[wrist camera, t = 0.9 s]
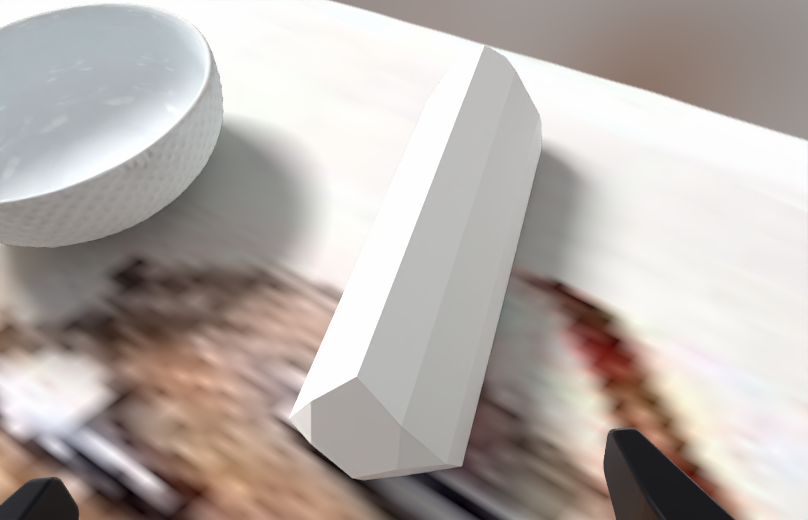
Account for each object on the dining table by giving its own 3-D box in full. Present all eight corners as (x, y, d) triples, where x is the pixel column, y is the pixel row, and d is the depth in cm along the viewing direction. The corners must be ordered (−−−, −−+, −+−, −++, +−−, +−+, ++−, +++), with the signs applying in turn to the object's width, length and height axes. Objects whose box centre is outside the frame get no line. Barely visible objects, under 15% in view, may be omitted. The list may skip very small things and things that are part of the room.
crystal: (401, 60, 36) (213, 428, 23) (505, 15, 32) (349, 439, 18) (459, 148, 40) (331, 501, 27) (559, 119, 36) (464, 524, 23)
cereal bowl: (-13, 341, 30) (-121, 260, 25) (-40, 155, 39) (-123, 64, 34) (288, 205, 35) (254, 109, 29) (201, 65, 44) (163, -29, 38)
